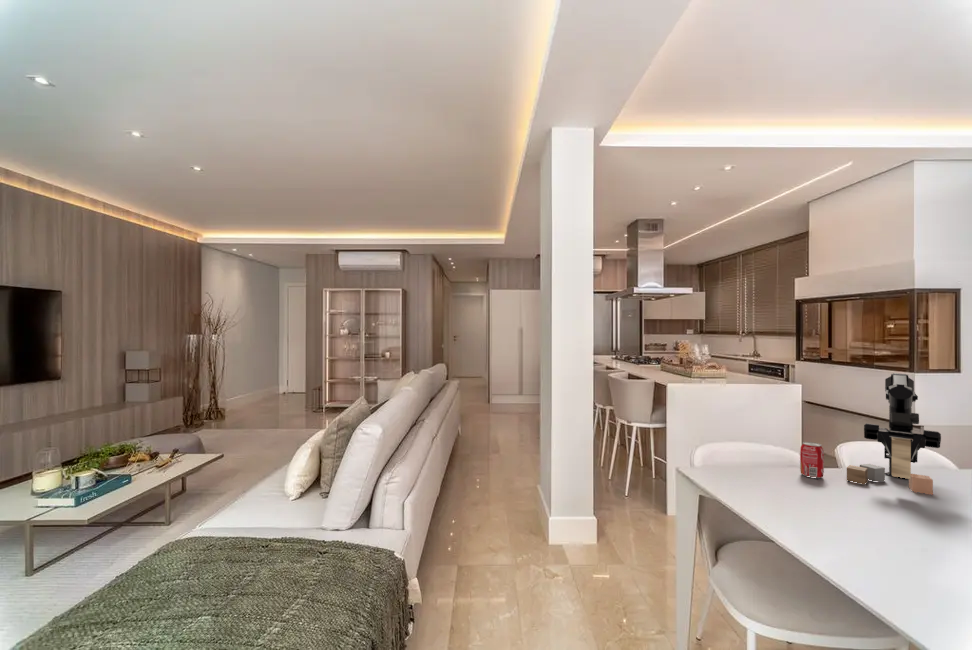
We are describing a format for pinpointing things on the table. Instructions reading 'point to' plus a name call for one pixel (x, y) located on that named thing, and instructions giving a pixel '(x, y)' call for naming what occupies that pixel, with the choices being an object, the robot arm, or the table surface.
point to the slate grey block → (875, 472)
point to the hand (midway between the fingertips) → (901, 456)
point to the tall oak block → (901, 457)
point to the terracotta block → (921, 484)
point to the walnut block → (857, 474)
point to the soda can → (812, 459)
